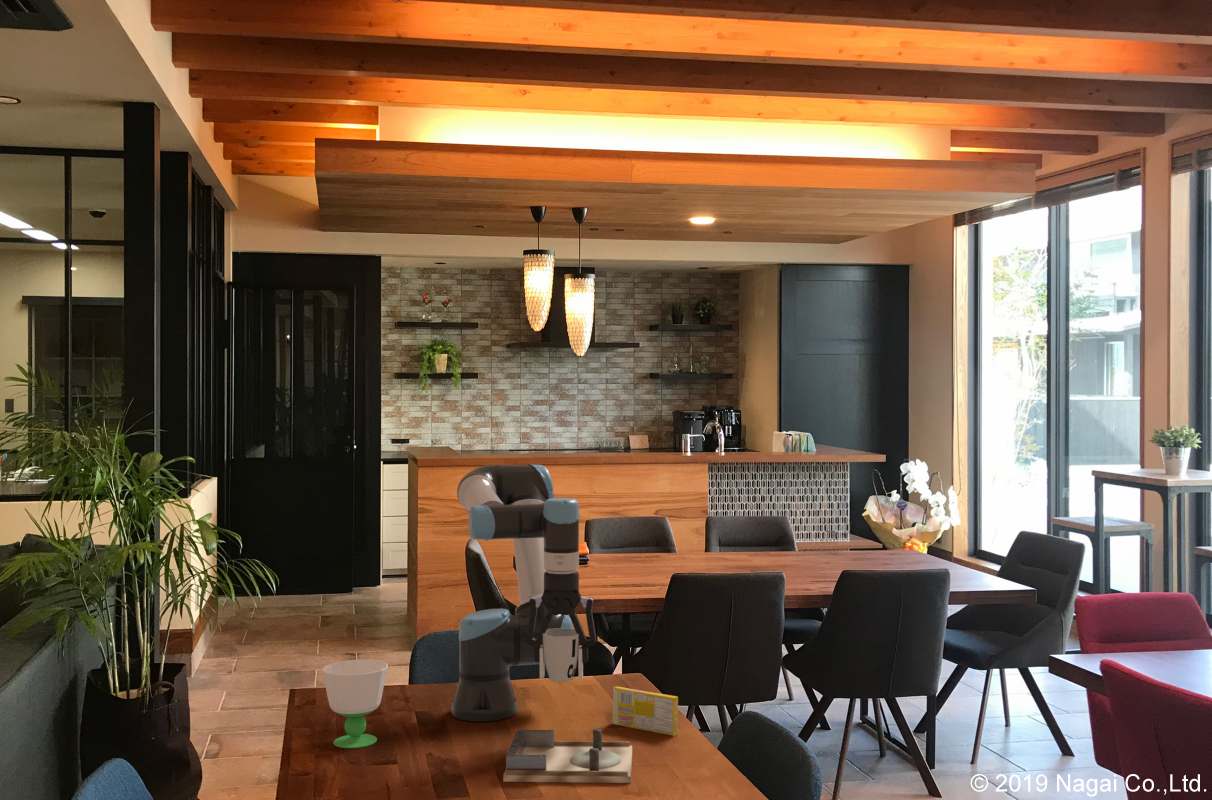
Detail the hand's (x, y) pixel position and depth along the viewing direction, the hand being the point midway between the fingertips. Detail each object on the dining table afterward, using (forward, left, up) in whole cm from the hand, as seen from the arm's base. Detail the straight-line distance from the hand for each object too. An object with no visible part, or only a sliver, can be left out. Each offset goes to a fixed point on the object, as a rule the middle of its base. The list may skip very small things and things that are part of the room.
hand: (561, 677), depth 216 cm
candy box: (+9, +17, -13) cm, 23 cm away
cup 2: (0, 0, -1) cm, 1 cm away
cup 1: (-32, -30, -13) cm, 46 cm away
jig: (+13, -11, -13) cm, 22 cm away
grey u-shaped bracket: (+7, -16, -12) cm, 21 cm away
